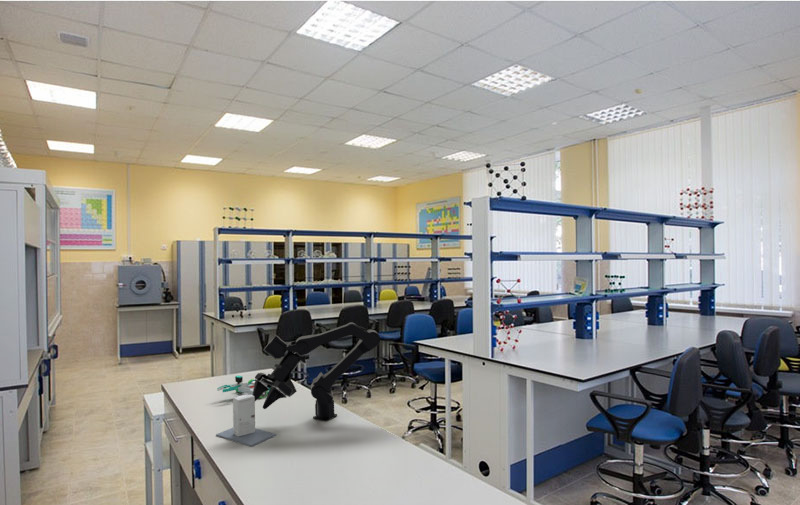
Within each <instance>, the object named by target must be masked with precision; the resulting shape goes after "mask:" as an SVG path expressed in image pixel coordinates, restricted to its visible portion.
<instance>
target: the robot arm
mask: <svg viewBox="0 0 800 505" xmlns="http://www.w3.org/2000/svg"><path fill="white" fill-rule="evenodd" d="M348 336H354V337H356V338H357V339H359V340H358V341H357V343H356V344H355V346H354V347H353V348H352V349H351V350H349V352H348V353H347V354H346V355H344V357H342V358H341V359H340V361H338V362H337V363H336V364H334V366H332V368H331V369H330V370H329V371H328V372H326V373H325V374H324V373H322V371H321V372H319V374H318V375H317V377H315V378H313V379H312V382H311V387H310V393H311V396H312V397H313V398H314V399H316V400H315V405H314V406H315V409H314V410H315V411H314V412H315V415H314V416H313V417H312V419H314V420H318V421H319V420H320V421H325V422H327V421H329V420H331V419H333V418H335V417H338V414H337V413H335V399H334V394H333V390H332V387H333V386H334V384H335V382H336V381H338V379H339V378H340V377H341V376H343V374H344V373H345V372H347V370H349V368H351V367H352V365H354V364H355V363H356V362H357V361H358V360H359V359H360V358H361V357H362V356H363V355H364V354H367V353H369V352H370V351H373V349H374V348H377V347H378V346H379V345H380V343H381V336H380V335H379V333H378V332H377V331H376V330H374V329H367V328H365V327H362V326H359V325H357V324H356V323H354V322H348V323H347V324H344V325H340V326H338V327H335V328H332V329H329V330H327V331H324V332H322V333H316V334H309V335H302V336H299V337H298V338H297V339H296V340H294V341H290V342H288V343H286V342H285V341H284V340H283V339H281V338H280V336H279V335H278V334H277V335H275V336H274V337H273V338H272V339H271V340H270V341H269V342H268V343H267V345H266V346H265V347H264V348H263V352H265V353H266V354H267V355H269V356H270V357H271V358H273V359H274V360H278V359H281V360H280V361H279V363H278V364H277V363H275V365H273V366H274V369H273V371H272V372H271V373H267V374H266V373H265V374H263V373H264V372H258V373H257V374H256V375H255V376H254V380H255V385H254V390H253V396H255V402H257V400H258V399H260V398H259V397H260V396H261V395H262V394H263V392H265V391H268V390H269V389H268V388H270V391H269V393H268V394H267V395H266V397H265V399H264V400H265V401H263V405H262V409H263V410H266V409H268V408H269V407H270V406H272V404H274V403H275V402H277V401H278V400H279V399H283V398H285V399H286V398H287V397H288V398H291V396H293V395H294V394H295V393H297V389H296V386H295V385H294V383H293V381H292V378H293V376H294V374H292V373H293V372H294V371H295V369H296V368H297V367H298V365H299V364H301V365H305V364H306V363H307V361H306V360H307V359H306V354H309V353H310V352H313V351H314V350H316V349H318V348H319V347H321V346H323V345H324V344H328V343H331V342H333V341H336V340H339V339H342V338H345V337H348ZM285 353H286V354H285ZM303 355H304V356H303ZM256 379H257V380H256Z"/></svg>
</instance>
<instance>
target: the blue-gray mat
mask: <svg viewBox="0 0 800 505" xmlns="http://www.w3.org/2000/svg"><path fill="white" fill-rule="evenodd" d="M215 436H216V437H219V438H221V439H225V440H228V441H231V442H236V443H238V444H241V445H245V446H248V447H255V446H257V445H258V444H259V445H260V443H263V442H266V441H267V440H269V439H272V438H274V437H276V436H277V433H274V432H271V431H266V430H264V429H263V430H262V429H260V428H256V427H255V432H254V433H250V434H247V435H243V436H239V437H238V436H236V435H235V434H234V433H233V427H231V428H229V429H226V430H223V431H220V432H219V433H216V434H215Z"/></svg>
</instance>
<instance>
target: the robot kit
mask: <svg viewBox="0 0 800 505" xmlns="http://www.w3.org/2000/svg"><path fill="white" fill-rule="evenodd" d="M262 373H263V374H266V373H265V372H262ZM234 379H235V381H234V382H236V383H232V384H224V385H221V386H218V387H217V391H222V393H228V392H232V391H235V392H236V393H245V394H251V395H253V390H254V385H255V378H254V379H253V378H250V380H248V381H244V380H243V376H242V375H235V377H234ZM256 380H257V379H256ZM268 389H269V390H268V391H265V392H263V394H262V395H261V396H260V397H259V398H258V399H264V397H265V398H267V395H268V393H269V391H270V388H268Z"/></svg>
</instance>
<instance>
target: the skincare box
mask: <svg viewBox="0 0 800 505" xmlns="http://www.w3.org/2000/svg"><path fill="white" fill-rule="evenodd" d="M232 414H233V415H232V421H233V427H232V428H233V433H234V434H235V435H236V436H238V437H239V436H243V435H247V434H250V433H254V432H255V428H256V401H255V396H253V395H252V394H248V393H246V394H242V395H239V396H234V397H232Z"/></svg>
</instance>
